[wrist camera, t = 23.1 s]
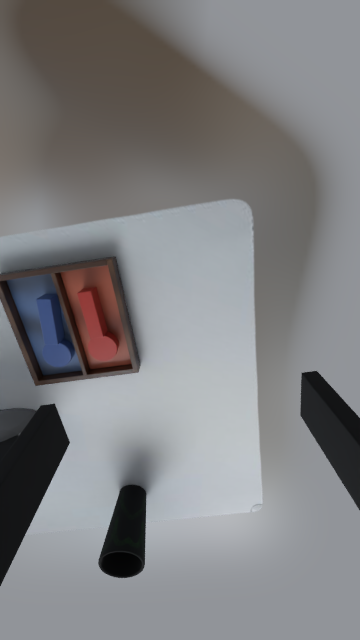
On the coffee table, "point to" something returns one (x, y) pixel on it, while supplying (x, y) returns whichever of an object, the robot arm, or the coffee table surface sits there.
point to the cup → (126, 535)
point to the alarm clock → (12, 426)
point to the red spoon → (97, 326)
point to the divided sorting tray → (69, 318)
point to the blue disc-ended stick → (53, 332)
